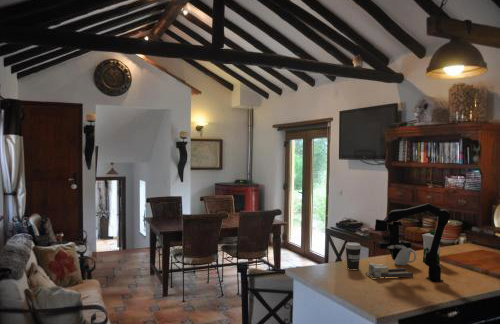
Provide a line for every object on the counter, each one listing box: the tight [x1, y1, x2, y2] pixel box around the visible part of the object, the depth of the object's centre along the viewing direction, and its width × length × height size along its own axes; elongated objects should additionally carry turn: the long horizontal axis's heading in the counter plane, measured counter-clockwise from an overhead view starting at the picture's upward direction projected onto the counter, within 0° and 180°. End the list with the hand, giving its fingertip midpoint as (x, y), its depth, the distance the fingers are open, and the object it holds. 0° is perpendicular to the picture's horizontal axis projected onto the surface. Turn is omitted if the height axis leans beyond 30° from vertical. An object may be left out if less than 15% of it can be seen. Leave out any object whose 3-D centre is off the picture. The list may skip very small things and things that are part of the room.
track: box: [365, 262, 414, 278], centre depth 224 cm, size 9×24×6 cm, turn 98°
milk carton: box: [421, 230, 441, 264], centre depth 248 cm, size 9×9×20 cm
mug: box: [393, 240, 417, 266], centre depth 245 cm, size 15×11×13 cm
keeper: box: [376, 263, 389, 274], centre depth 223 cm, size 6×5×4 cm
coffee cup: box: [344, 241, 362, 270], centre depth 237 cm, size 10×10×15 cm
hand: (393, 259), depth 224 cm, fingers closed
